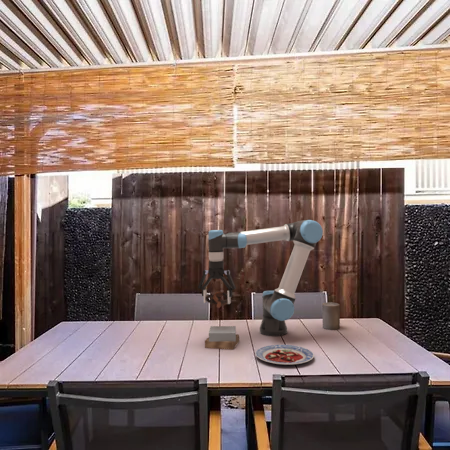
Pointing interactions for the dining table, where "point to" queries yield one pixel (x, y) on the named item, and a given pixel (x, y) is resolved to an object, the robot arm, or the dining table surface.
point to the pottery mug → (217, 299)
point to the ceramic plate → (284, 354)
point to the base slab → (222, 344)
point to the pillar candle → (331, 315)
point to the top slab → (222, 333)
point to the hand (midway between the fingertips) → (217, 303)
